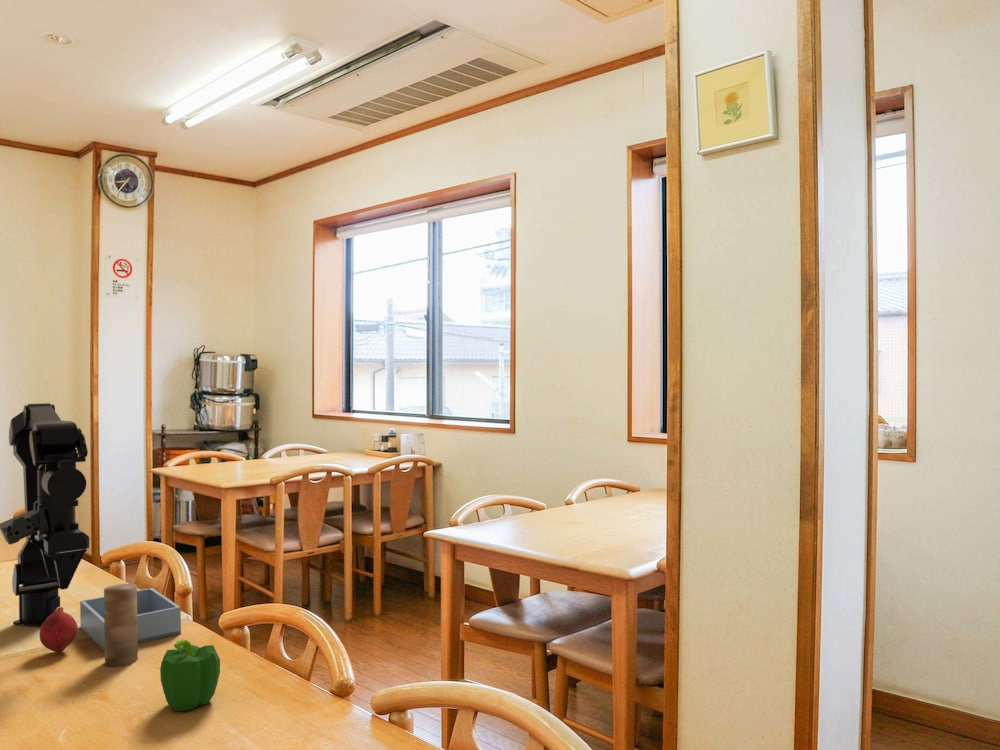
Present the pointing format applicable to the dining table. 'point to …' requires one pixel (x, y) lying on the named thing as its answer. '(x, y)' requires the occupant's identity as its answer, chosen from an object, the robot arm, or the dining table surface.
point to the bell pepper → (189, 675)
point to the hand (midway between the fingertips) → (57, 583)
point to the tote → (152, 617)
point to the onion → (58, 631)
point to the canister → (120, 624)
